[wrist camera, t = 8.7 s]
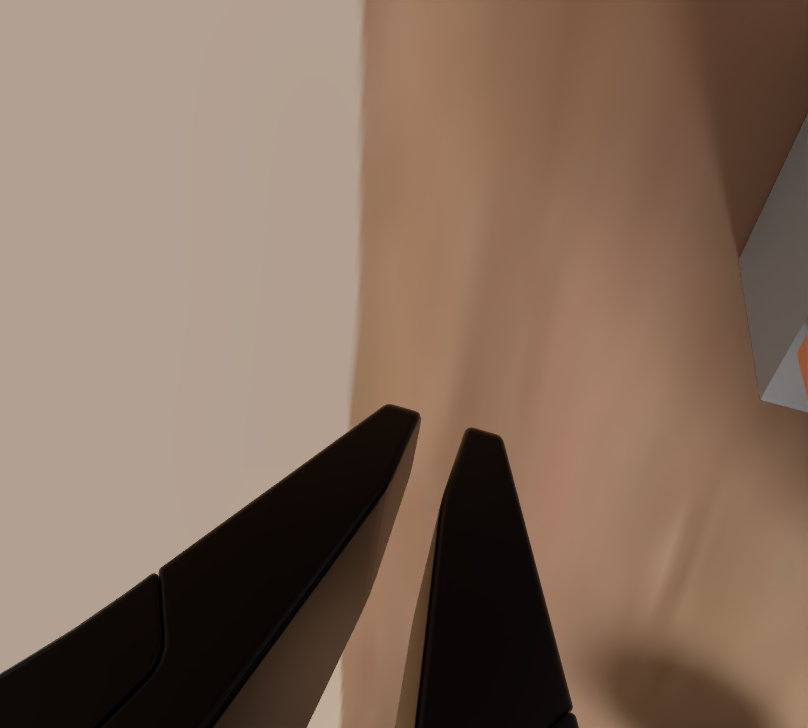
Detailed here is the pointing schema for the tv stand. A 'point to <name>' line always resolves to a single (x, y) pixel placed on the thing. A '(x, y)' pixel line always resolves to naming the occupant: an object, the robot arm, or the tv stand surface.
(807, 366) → the block
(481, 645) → the robot arm
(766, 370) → the box
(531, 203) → the tv stand surface
